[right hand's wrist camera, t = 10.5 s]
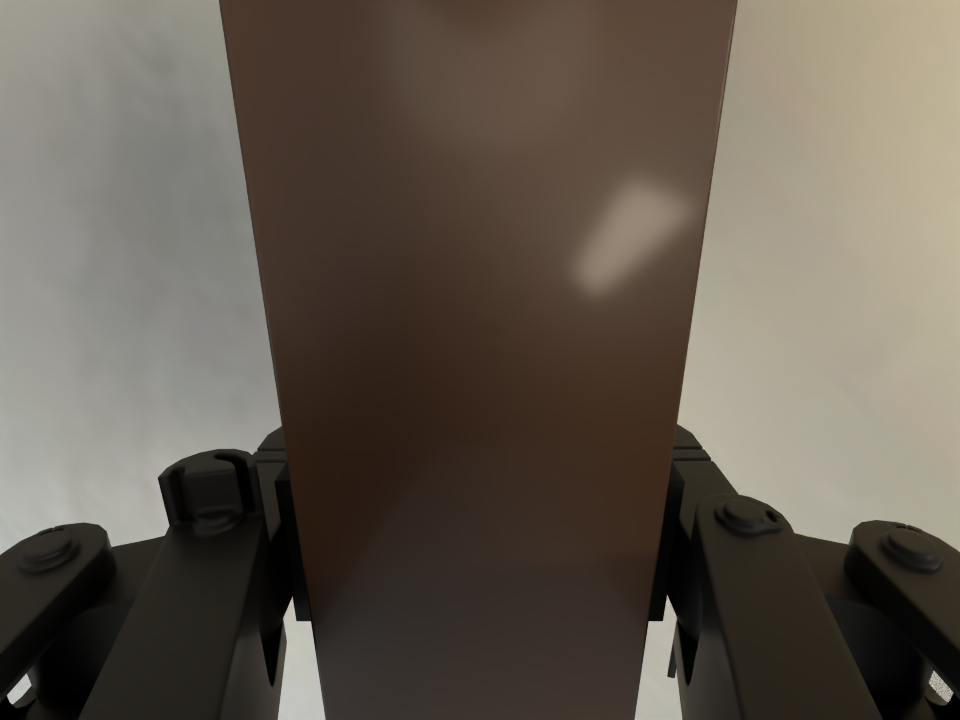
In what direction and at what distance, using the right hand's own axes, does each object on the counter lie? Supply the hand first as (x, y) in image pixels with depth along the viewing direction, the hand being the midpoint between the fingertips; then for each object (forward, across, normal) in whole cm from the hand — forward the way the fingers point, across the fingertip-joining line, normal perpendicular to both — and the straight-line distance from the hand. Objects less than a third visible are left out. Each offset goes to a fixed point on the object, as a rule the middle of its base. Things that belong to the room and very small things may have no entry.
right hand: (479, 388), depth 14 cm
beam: (0, 0, -8) cm, 8 cm away
